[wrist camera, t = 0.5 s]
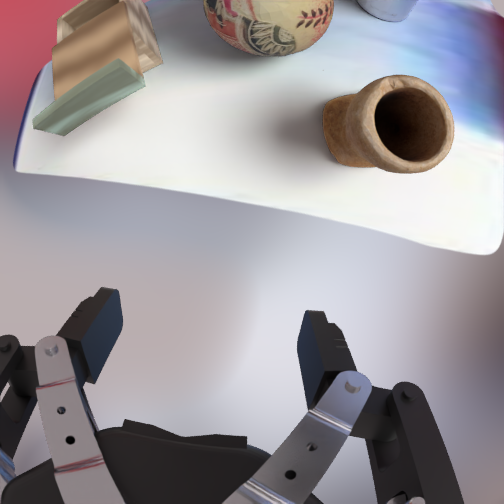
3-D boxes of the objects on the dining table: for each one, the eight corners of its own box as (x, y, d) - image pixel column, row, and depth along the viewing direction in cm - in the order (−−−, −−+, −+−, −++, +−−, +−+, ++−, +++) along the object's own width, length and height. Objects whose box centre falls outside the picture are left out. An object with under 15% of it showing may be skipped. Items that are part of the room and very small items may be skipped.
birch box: (89, 41, 36) (57, 19, 26) (147, 7, 34) (121, -23, 24) (97, 99, 37) (58, 80, 28) (163, 62, 36) (133, 32, 26)
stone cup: (333, 188, 36) (362, 176, 21) (314, 100, 34) (328, 44, 20) (435, 176, 34) (501, 165, 19) (416, 95, 32) (467, 52, 18)
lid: (56, 50, 27) (32, 37, 21) (126, 3, 25) (106, -18, 19) (64, 136, 28) (33, 128, 23) (145, 86, 26) (120, 66, 21)
